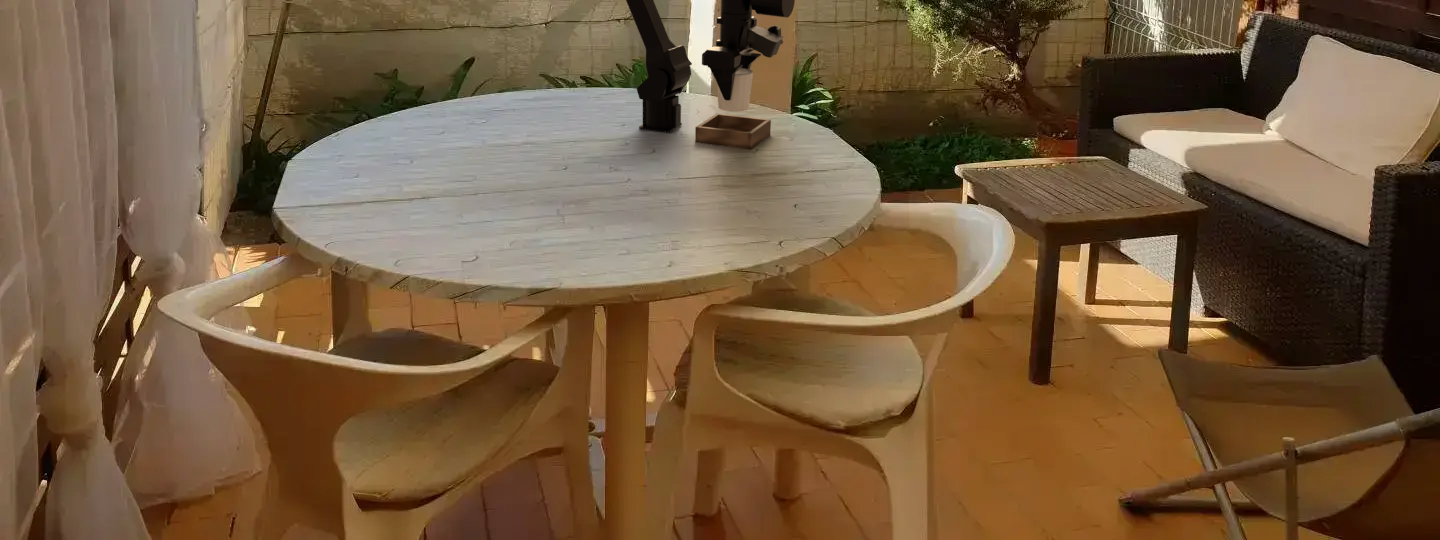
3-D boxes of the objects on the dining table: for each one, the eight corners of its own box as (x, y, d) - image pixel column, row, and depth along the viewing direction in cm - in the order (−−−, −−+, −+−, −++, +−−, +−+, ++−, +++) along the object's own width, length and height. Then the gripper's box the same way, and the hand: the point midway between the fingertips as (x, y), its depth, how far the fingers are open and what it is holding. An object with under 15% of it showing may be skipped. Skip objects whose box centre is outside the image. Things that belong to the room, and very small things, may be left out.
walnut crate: (695, 142, 234) (695, 126, 233) (716, 128, 244) (716, 113, 243) (751, 149, 231) (751, 133, 230) (770, 135, 240) (770, 119, 239)
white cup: (753, 104, 238) (754, 67, 235) (750, 113, 232) (751, 75, 229) (717, 102, 239) (718, 65, 236) (713, 111, 232) (714, 73, 230)
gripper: (761, 24, 218) (758, 112, 224) (794, 7, 234) (790, 90, 240) (701, 18, 221) (699, 105, 227) (737, 2, 238) (735, 84, 244)
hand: (733, 96), depth 234 cm, fingers closed on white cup, 6 cm apart
